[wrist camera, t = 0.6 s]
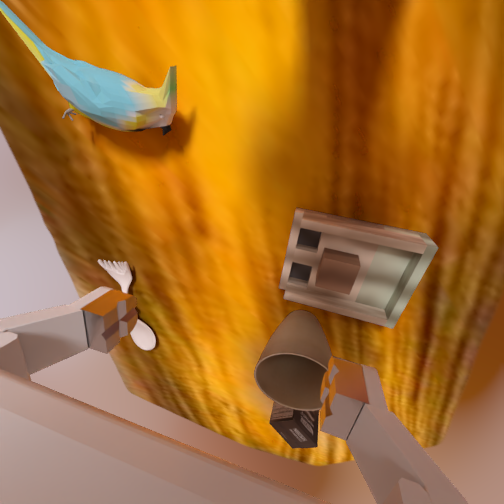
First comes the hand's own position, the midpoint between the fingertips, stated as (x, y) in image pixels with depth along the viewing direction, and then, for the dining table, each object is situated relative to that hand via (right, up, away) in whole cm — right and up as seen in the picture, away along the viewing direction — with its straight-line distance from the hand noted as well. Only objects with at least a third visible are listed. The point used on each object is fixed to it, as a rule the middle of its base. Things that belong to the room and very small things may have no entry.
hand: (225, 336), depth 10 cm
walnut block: (+17, +1, +36) cm, 40 cm away
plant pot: (+13, -13, +47) cm, 51 cm away
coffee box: (+14, -27, +55) cm, 63 cm away
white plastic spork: (-32, -12, +62) cm, 71 cm away
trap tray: (+19, +2, +38) cm, 42 cm away
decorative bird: (-21, +35, +33) cm, 53 cm away
